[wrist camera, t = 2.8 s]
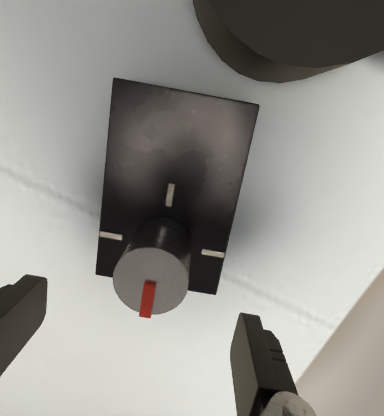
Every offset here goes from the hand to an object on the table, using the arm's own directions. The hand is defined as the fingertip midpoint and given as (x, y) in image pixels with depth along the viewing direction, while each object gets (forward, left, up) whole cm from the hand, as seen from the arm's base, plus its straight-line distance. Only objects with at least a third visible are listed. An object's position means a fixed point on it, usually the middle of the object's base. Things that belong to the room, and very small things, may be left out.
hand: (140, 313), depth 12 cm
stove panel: (-3, 0, -10) cm, 10 cm away
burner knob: (0, 0, -6) cm, 6 cm away
